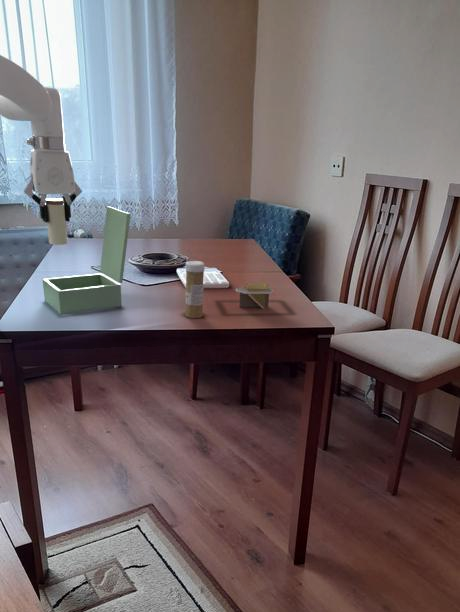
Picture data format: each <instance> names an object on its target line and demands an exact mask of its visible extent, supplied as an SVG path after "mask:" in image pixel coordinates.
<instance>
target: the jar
mask: <svg viewBox="0 0 460 612" xmlns="http://www.w3.org/2000/svg"><path fill="white" fill-rule="evenodd" d="M63 202H64V201H63V198H46V201H45V204H46V206H47V208H48V218H49V222H48V223H46V227H47V237H48V244H49V245H53V246H63V245H67V244H69V242H68V230H67V229H68V228H67V221H66V217H65V206H64V203H63Z"/></svg>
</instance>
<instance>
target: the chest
mask: <svg viewBox="0 0 460 612" xmlns="http://www.w3.org/2000/svg"><path fill="white" fill-rule="evenodd" d="M42 287H43V288H42V289H43V298H44V301H45V302H46V303H47V304H48V305H49V306H50V307H52V309H54V310H55V311H56V312H57V313H59V314H60V315H64V314H72V313H80V312H87V311H88V312H89V311H95V310H103V309H110V308H111V309H112V308H119V307H123V305H122V285H121V283H119V282H117V281H116V280H114V279H112V278H111V277H109V276H107V275H105V274H104V273H102V272H101V273H92V274H91V273H89V274H80V275H70V276H69V275H68V276H59V277H49V278H42Z"/></svg>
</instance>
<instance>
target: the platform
mask: <svg viewBox="0 0 460 612" xmlns="http://www.w3.org/2000/svg"><path fill="white" fill-rule="evenodd" d="M245 285H246V287H236V288H235V291H236V292H237V293H239V301H238V302H239V304H238V308H261V309H263V310H264V309H266V308H268V307H269V300H270V299H269V298H270V295H271V294H273V292H274V288H273V287H269V284H268V283H267V282H266V283H264V282H262V283H261V282H246V283H245Z"/></svg>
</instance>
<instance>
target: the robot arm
mask: <svg viewBox="0 0 460 612" xmlns="http://www.w3.org/2000/svg"><path fill="white" fill-rule="evenodd" d="M0 116H2V117H3V118H5V119H7V120H10V121H17V122H19V121H20V122H30V127H31V138H27V139H26V144H27V145H28V146H31V147H32V149H31V150H30V165H29V166H30V168H29V169H30V180H29V182H28V184H27V185H26V187H25V188H24V189H23V192H24V194H25V195H26V196H27V197H30V198H31V199H32V200H33V201H34V202H35V203H36V204H37V205H38V206H39V215H40V219H41V220H42V222H44V223H46V224H47V223H48V222H49V218H48V208H47V206H46V204H45V203H46V199H47V195H61V199H63V203H64V206H65V217H66V223H69V222H71V221H70V220H71V219H72V218H71V217H72V209H71V206H72V204H73V203H74V201H75V200H76V198H77V197H79V195H81V194H82V192H83V190H82V189H81V187H80V186H79V185H78V184H77V182H76V181H75V174H74V169H73V163H72V159H71V155H70V151H67V150H66V144H65V131H64V129H65V128H64V120H63V119H64V117H63V105H62V96H61V92H60V91H59V89H57V88H54V87H48V86H47V87H46V86H44V85H43V84H42V83H40V81H38V80H37V79H36V78H35V77H34V76H33V74H32V75H31V73H29V71H27V70H26V69H24V68H23V67H22V66H20V65H19V64H18V63H15V62H14V61H12V60H10V59H9V58H7V57H5V56H4V55H2V54H0ZM34 192H35V193H38V195H37V194H35V193H34Z"/></svg>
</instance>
